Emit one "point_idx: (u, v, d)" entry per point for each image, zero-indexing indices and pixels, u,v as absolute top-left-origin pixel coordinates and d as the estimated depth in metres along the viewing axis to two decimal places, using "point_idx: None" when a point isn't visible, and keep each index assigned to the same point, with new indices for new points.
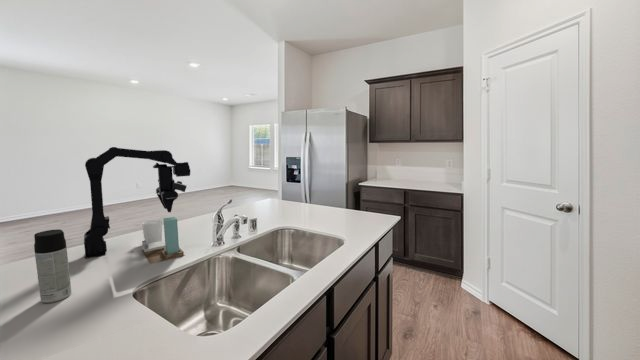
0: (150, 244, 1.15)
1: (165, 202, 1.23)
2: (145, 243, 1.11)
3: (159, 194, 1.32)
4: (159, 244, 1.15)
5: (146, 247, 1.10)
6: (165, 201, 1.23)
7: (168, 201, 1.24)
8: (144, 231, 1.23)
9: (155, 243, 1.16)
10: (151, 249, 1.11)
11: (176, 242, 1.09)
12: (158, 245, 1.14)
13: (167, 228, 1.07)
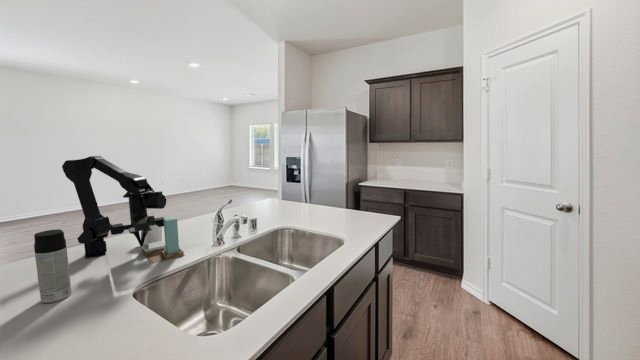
0: (150, 244, 1.15)
1: None
2: (145, 243, 1.11)
3: None
4: (159, 244, 1.15)
5: (146, 247, 1.10)
6: None
7: None
8: None
9: (155, 243, 1.16)
10: (151, 249, 1.11)
11: (176, 242, 1.09)
12: (158, 245, 1.14)
13: (167, 228, 1.07)
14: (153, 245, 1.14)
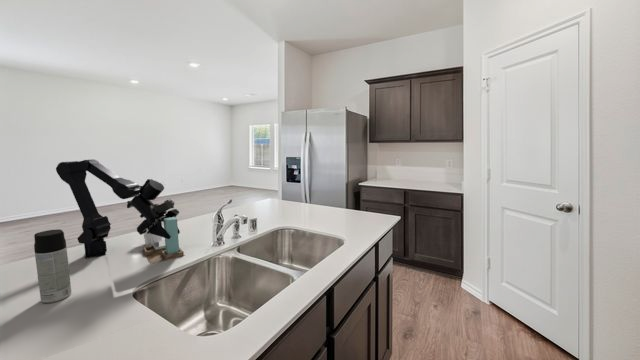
0: (160, 242, 1.17)
1: (155, 233, 1.05)
2: (156, 241, 1.14)
3: None
4: None
5: (157, 245, 1.13)
6: (154, 232, 1.05)
7: (157, 230, 1.05)
8: None
9: None
10: (162, 247, 1.13)
11: (176, 242, 1.09)
12: None
13: (167, 228, 1.07)
14: (163, 243, 1.16)
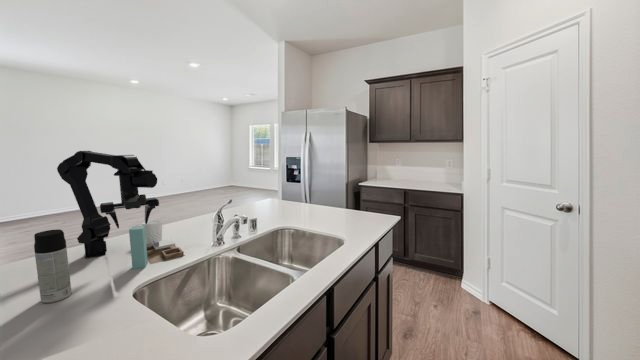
0: (160, 242, 1.17)
1: None
2: (156, 241, 1.14)
3: None
4: (169, 242, 1.17)
5: (157, 245, 1.13)
6: None
7: None
8: None
9: (165, 241, 1.19)
10: (162, 247, 1.13)
11: (141, 255, 0.99)
12: (168, 243, 1.16)
13: (131, 238, 0.97)
14: (163, 243, 1.16)
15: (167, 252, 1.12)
